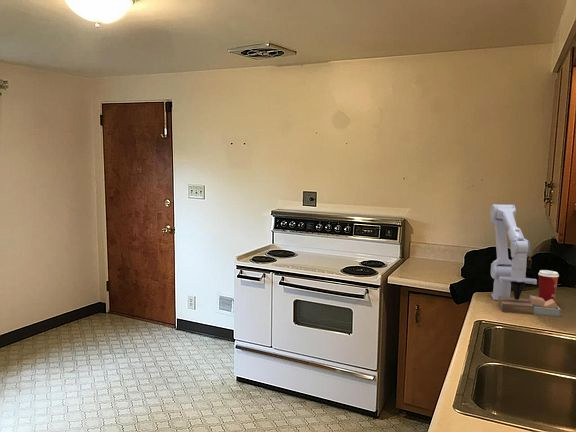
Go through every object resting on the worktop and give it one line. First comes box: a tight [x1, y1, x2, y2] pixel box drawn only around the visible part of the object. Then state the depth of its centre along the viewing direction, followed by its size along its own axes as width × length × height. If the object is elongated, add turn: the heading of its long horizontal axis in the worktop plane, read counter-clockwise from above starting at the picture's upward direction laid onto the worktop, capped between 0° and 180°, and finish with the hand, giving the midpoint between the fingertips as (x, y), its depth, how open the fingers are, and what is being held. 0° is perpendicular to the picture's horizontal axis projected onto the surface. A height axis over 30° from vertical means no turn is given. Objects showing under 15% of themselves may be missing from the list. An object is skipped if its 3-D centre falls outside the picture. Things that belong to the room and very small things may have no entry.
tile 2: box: [543, 299, 559, 309], centre depth 208 cm, size 5×5×2 cm
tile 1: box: [528, 294, 545, 307], centre depth 209 cm, size 5×5×2 cm
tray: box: [532, 304, 562, 317], centre depth 209 cm, size 11×10×3 cm
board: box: [497, 296, 534, 315], centre depth 212 cm, size 12×12×4 cm
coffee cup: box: [537, 269, 560, 302], centre depth 219 cm, size 8×8×15 cm
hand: (516, 299), depth 211 cm, fingers closed
